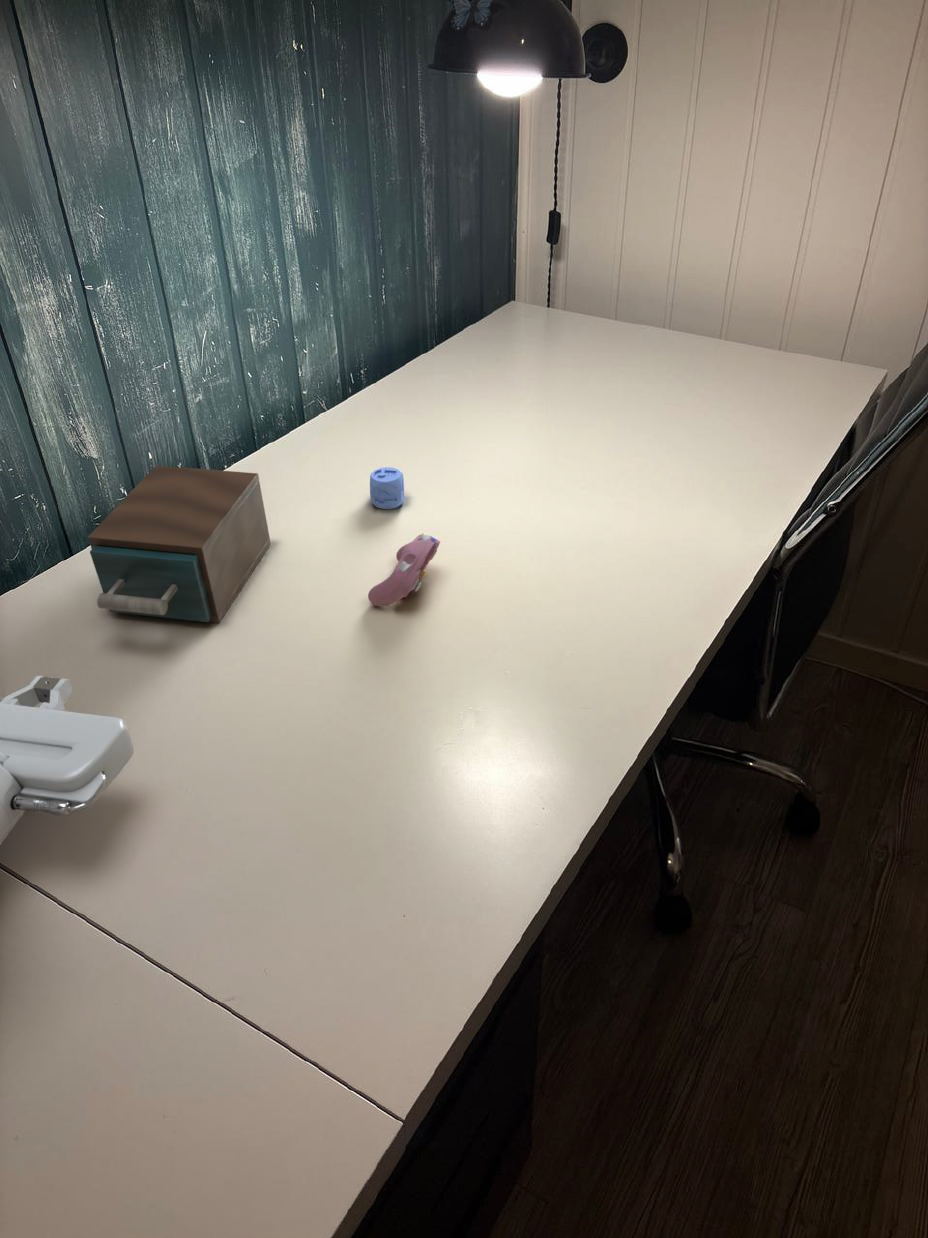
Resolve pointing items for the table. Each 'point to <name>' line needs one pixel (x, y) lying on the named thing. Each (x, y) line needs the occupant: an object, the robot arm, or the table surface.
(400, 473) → the decorative dice
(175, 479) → the cabinet
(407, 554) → the video game controller
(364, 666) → the table surface
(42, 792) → the robot arm
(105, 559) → the drawer
